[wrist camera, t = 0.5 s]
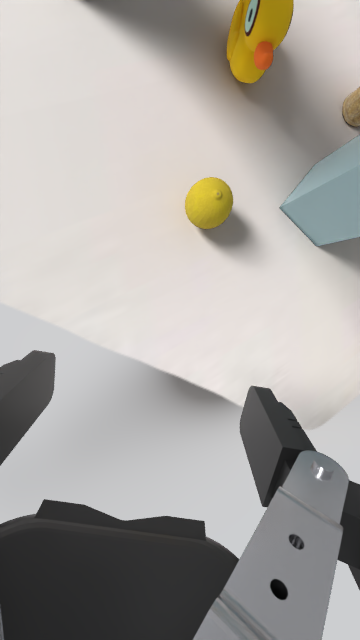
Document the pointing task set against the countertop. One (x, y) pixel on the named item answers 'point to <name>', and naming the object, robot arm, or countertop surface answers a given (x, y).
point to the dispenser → (329, 197)
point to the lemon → (209, 203)
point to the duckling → (256, 36)
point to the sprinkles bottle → (352, 108)
